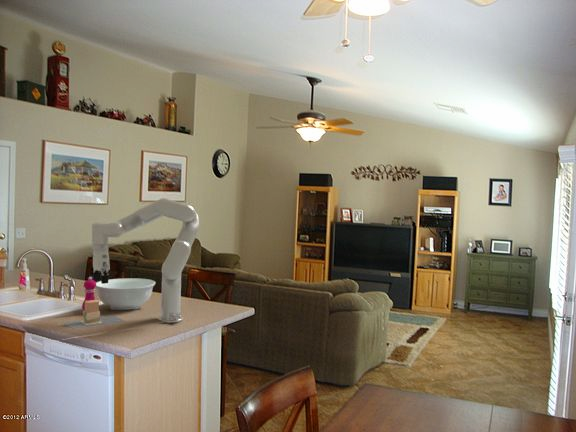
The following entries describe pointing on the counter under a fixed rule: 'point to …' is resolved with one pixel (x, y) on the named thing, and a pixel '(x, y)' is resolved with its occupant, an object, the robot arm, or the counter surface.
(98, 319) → the maple block
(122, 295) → the bowl
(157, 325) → the counter surface
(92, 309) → the terracotta cube
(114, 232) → the robot arm
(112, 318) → the board
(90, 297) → the pepper mill
